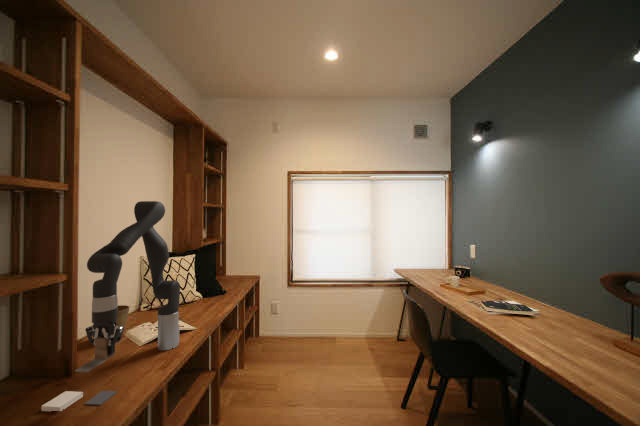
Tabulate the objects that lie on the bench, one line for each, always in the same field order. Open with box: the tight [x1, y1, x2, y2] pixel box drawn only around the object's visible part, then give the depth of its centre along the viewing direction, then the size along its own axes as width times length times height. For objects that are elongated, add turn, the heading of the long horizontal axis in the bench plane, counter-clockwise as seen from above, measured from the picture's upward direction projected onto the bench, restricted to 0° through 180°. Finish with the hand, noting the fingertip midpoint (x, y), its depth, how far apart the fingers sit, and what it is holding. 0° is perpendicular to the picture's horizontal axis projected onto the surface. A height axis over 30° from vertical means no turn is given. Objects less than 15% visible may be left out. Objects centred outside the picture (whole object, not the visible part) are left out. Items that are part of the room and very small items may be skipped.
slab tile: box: [40, 390, 84, 412], centre depth 96 cm, size 2×7×8 cm
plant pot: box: [116, 304, 130, 329], centre depth 148 cm, size 15×15×16 cm
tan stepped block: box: [74, 335, 115, 373], centre depth 96 cm, size 11×4×8 cm, turn 175°
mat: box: [84, 390, 118, 406], centre depth 98 cm, size 7×6×1 cm
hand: (105, 354), depth 100 cm, fingers closed on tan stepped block, 4 cm apart
